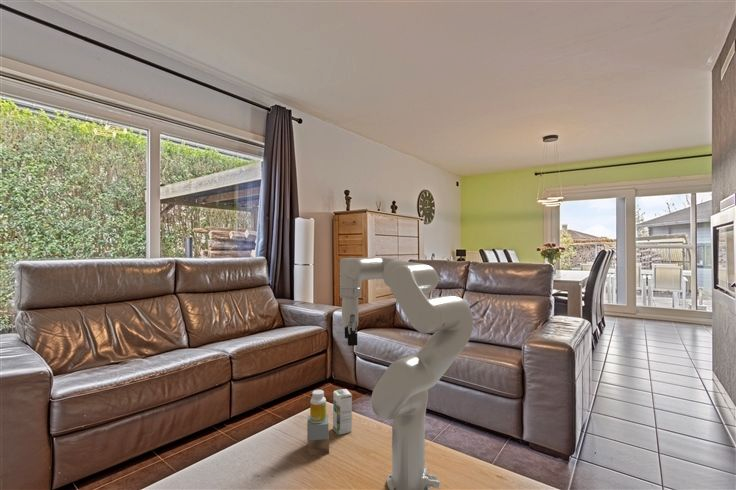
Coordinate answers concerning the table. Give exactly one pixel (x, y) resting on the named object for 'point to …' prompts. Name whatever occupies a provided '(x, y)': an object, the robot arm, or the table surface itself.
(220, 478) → the table surface
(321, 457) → the table surface
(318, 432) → the tower top block
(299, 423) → the table surface
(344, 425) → the syrup box
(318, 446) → the tower bottom block
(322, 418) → the supplement bottle
